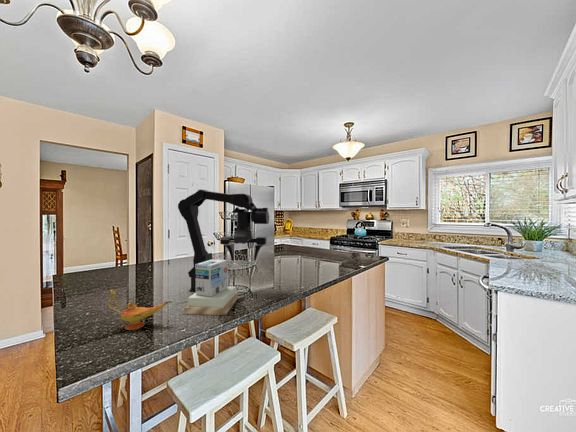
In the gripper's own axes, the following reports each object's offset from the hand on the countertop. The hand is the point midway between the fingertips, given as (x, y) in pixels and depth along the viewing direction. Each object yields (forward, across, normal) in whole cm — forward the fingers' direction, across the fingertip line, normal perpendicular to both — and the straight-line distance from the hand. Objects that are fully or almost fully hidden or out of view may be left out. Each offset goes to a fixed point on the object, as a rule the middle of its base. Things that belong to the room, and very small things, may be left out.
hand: (244, 260), depth 108 cm
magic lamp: (+13, -24, -33) cm, 43 cm away
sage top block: (+11, -8, -16) cm, 21 cm away
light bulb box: (+8, -8, -16) cm, 20 cm away
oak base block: (+14, -8, -16) cm, 23 cm away
